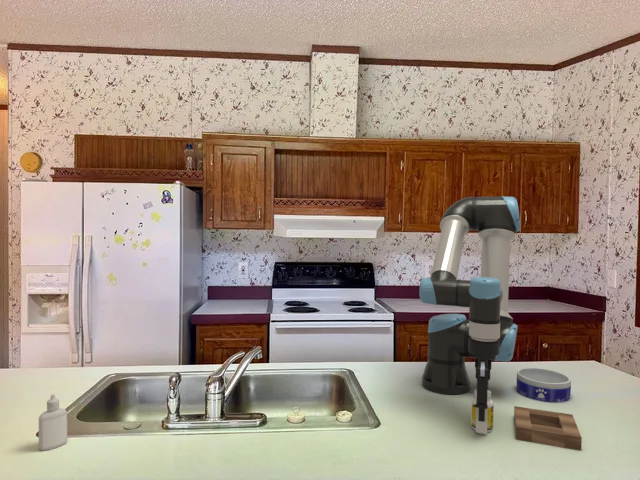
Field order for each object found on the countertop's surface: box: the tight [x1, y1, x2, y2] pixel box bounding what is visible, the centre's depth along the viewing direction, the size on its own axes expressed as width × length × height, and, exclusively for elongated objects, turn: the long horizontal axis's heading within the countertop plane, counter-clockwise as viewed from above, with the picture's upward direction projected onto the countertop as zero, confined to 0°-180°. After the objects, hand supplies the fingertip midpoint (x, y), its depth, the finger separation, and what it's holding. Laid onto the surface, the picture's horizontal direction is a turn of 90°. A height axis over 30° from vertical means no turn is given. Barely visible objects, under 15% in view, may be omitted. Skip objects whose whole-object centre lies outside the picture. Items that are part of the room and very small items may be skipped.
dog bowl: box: [516, 366, 572, 404], centre depth 141 cm, size 15×15×6 cm
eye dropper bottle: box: [38, 393, 68, 451], centre depth 104 cm, size 4×6×12 cm
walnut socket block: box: [513, 405, 583, 451], centre depth 114 cm, size 14×14×3 cm
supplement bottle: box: [470, 388, 495, 433], centre depth 116 cm, size 5×5×10 cm
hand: (481, 426), depth 116 cm, fingers open, 7 cm apart
